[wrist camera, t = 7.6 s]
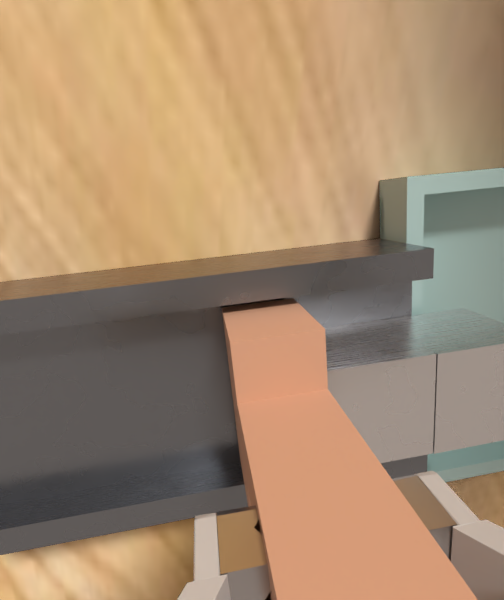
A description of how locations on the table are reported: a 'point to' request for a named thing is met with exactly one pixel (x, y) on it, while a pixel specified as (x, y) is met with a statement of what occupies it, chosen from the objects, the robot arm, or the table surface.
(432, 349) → the pale grey cube
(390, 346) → the light grey cube
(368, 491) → the stepped pink block
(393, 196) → the tray
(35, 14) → the table surface
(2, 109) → the table surface
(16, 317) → the slot rail
